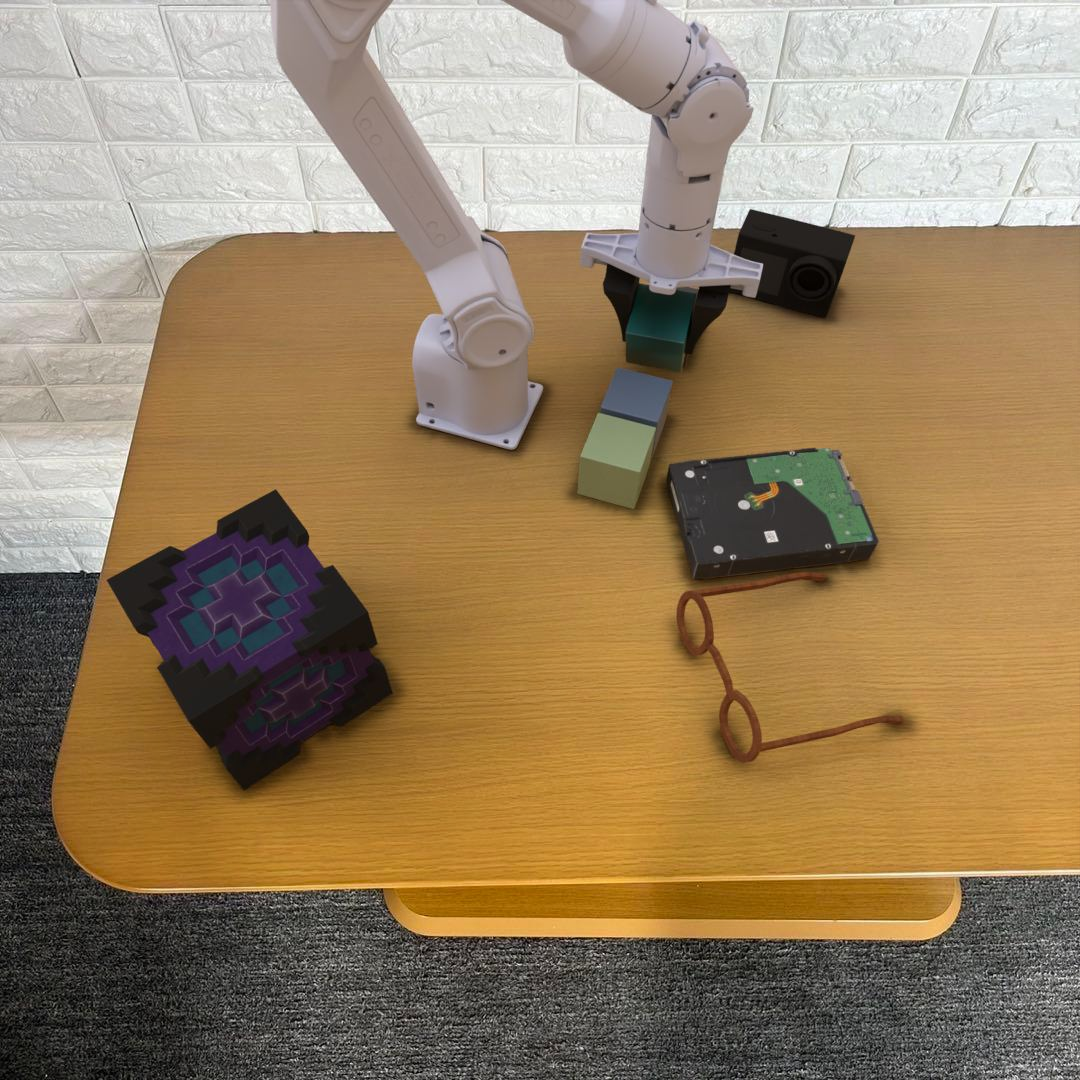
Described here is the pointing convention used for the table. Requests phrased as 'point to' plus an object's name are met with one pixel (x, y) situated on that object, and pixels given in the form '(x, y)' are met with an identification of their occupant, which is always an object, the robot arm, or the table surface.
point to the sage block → (615, 460)
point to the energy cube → (255, 637)
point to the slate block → (638, 399)
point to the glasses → (730, 693)
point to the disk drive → (769, 512)
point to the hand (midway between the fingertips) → (658, 340)
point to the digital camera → (794, 260)
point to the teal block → (659, 328)
